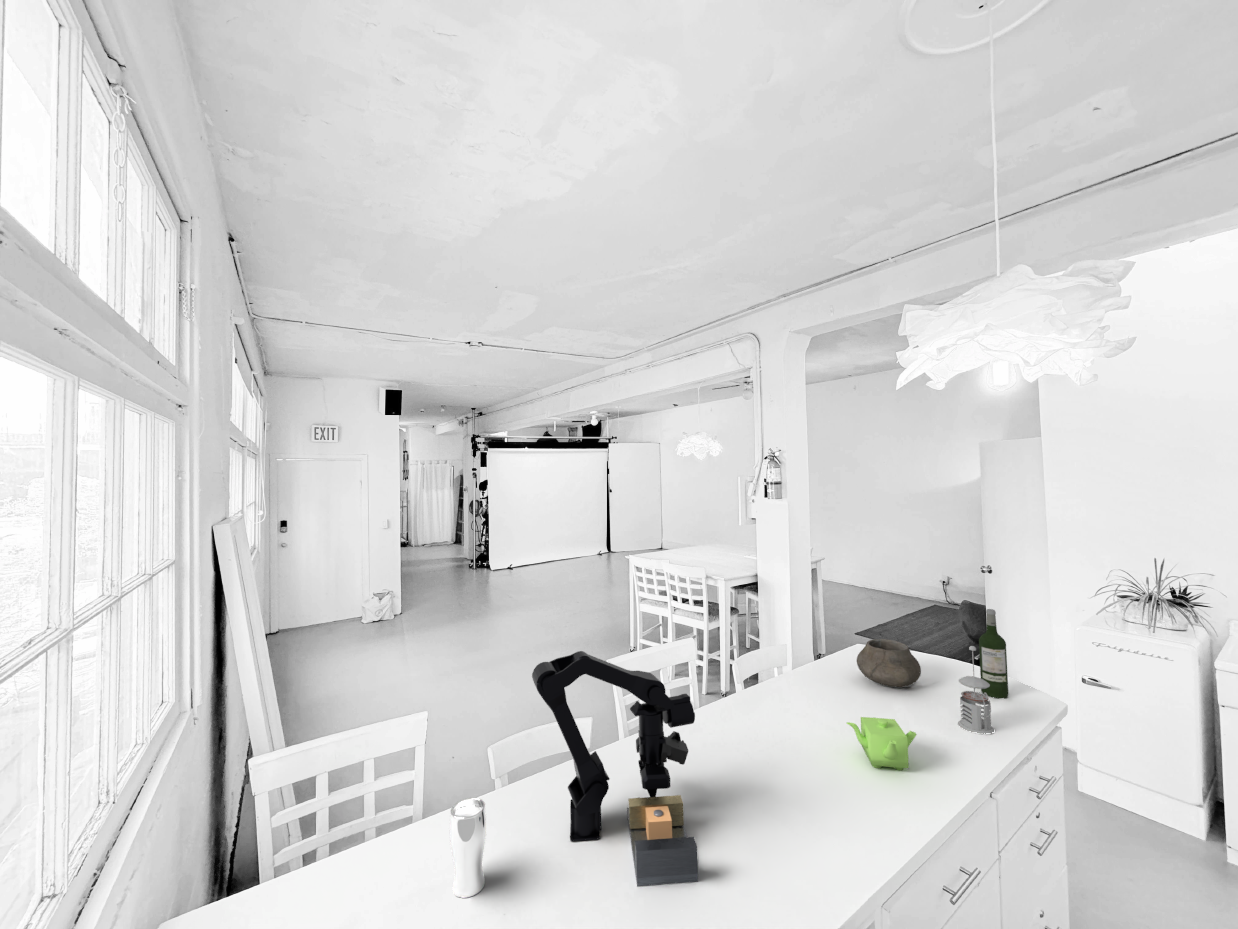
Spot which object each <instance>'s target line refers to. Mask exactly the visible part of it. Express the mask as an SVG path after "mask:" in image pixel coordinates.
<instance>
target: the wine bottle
mask: <svg viewBox="0 0 1238 929" xmlns="http://www.w3.org/2000/svg"><path fill="white" fill-rule="evenodd" d="M985 613H986V631H985V632H984V633H983V634H982V635H980V637H979V638H978V648H979V670H980V671H979V672H980V673H979V674H980V678H981V679H983V680H985V681H986V682H988V683H989V684H990V686H989V687H988V688H986V689H980V691H981V694H982V693H983V694H984V693H986V694H987V695H988V697H989V698H993V697H994V699H999V698H1004V699H1007V698H1009V680H1008V678H1009V677H1008V659H1007V642H1006V640H1005V639H1004V638H1003V637H1002V636H1001V635H1000V634H999V633H998V628H997V619H996V614H997V613H996V610H995V609H992V608H987V609H986V610H985ZM986 694H985V695H986ZM987 695H986V696H987Z"/></svg>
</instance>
